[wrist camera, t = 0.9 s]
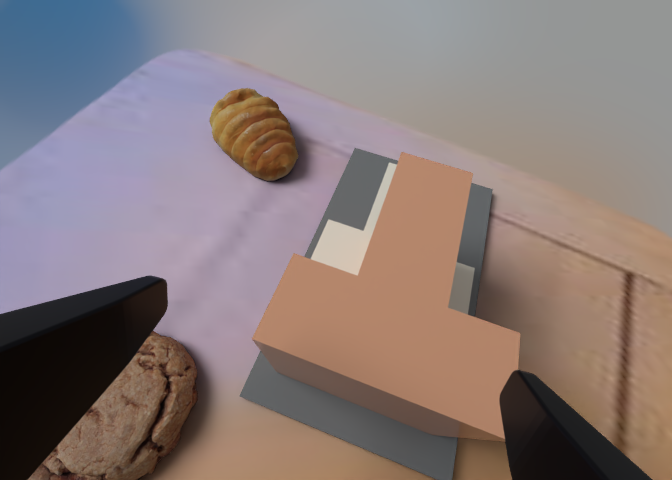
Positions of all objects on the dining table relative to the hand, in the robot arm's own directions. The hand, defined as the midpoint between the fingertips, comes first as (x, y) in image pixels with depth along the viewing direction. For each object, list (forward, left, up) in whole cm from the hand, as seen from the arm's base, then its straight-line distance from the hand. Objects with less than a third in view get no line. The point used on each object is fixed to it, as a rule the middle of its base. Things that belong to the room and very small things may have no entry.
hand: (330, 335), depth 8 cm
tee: (+4, -5, -14) cm, 15 cm away
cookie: (+1, +13, -15) cm, 20 cm away
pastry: (+22, +3, -15) cm, 27 cm away
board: (+7, -6, -14) cm, 17 cm away
